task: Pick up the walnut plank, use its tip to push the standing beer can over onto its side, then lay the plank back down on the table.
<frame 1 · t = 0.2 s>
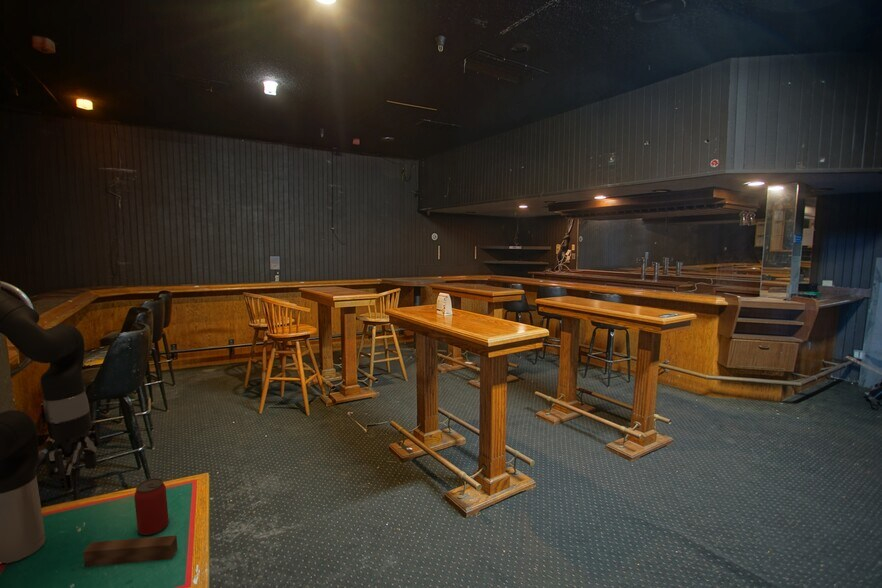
hand: (80, 478, 100), 17 cm above the table, tool pointing down, fingers open, 8 cm apart
walnut plank: (132, 558, 99), on the table
beer can: (153, 528, 109), on the table
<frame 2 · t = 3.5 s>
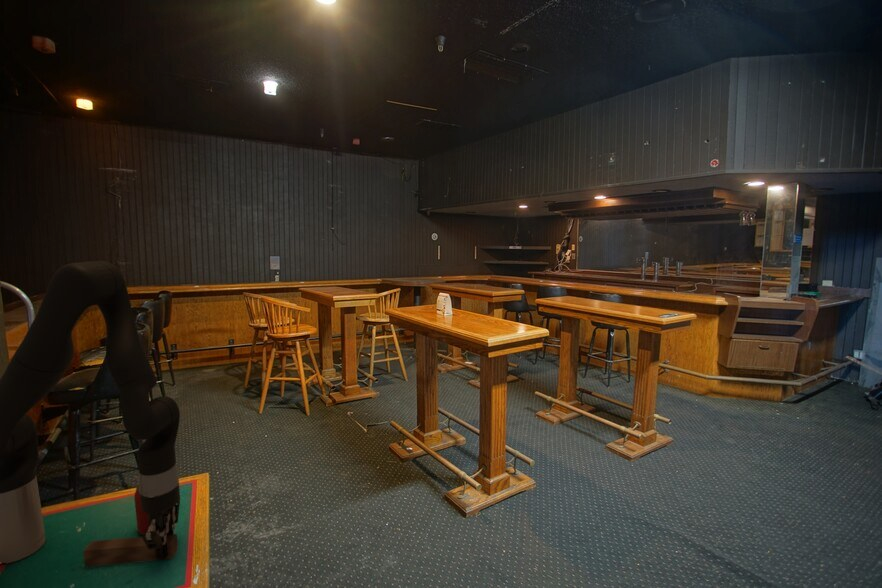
hand: (165, 551, 100), 1 cm above the table, tool pointing down, fingers closed on walnut plank, 3 cm apart
walnut plank: (132, 557, 99), on the table, touching gripper
everything else where it was.
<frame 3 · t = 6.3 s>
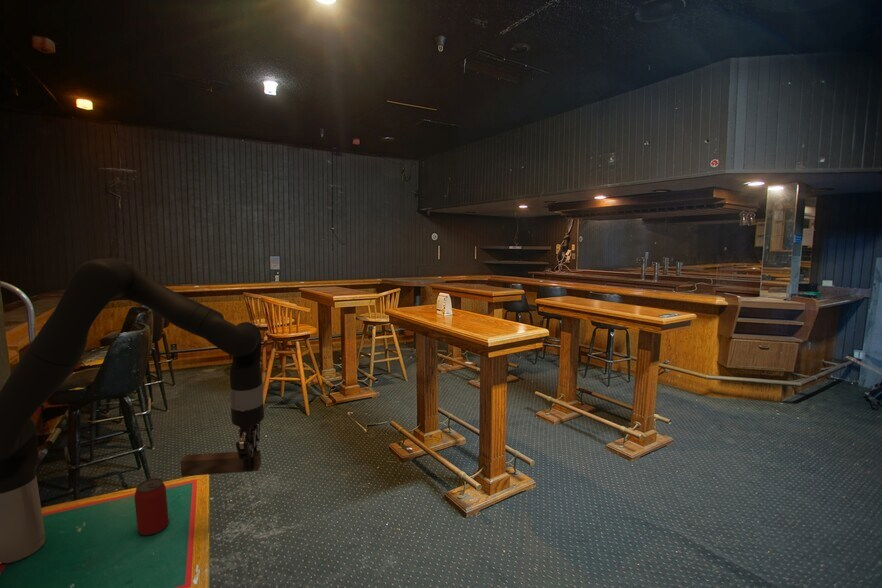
hand: (251, 465, 110), 16 cm above the table, tool pointing down, fingers closed on walnut plank, 3 cm apart
walnut plank: (222, 470, 109), point 15 cm above the table, touching gripper
everything else where it was.
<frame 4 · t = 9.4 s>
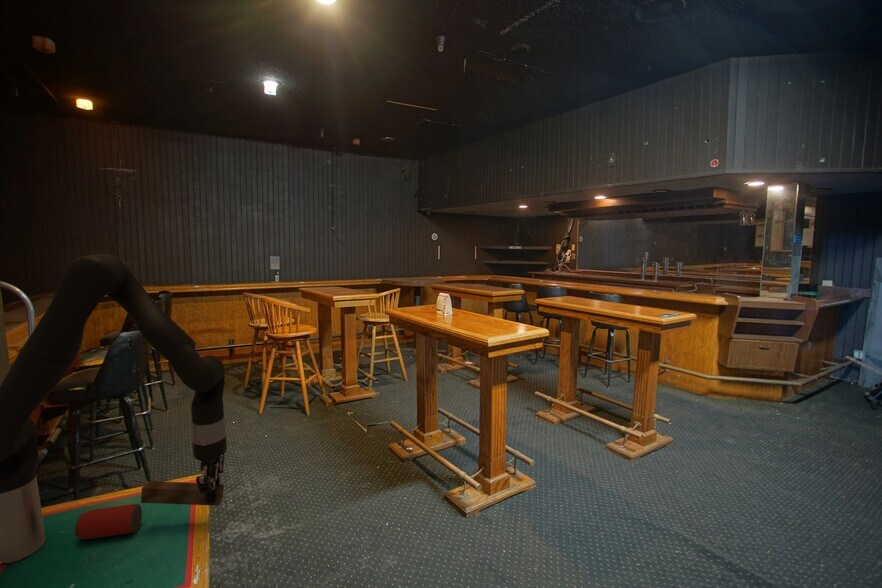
hand: (213, 497, 110), 7 cm above the table, tool pointing down, fingers closed on walnut plank, 3 cm apart
walnut plank: (183, 500, 109), point 7 cm above the table, tilted 8°, touching gripper
beer can: (138, 517, 108), point 3 cm above the table
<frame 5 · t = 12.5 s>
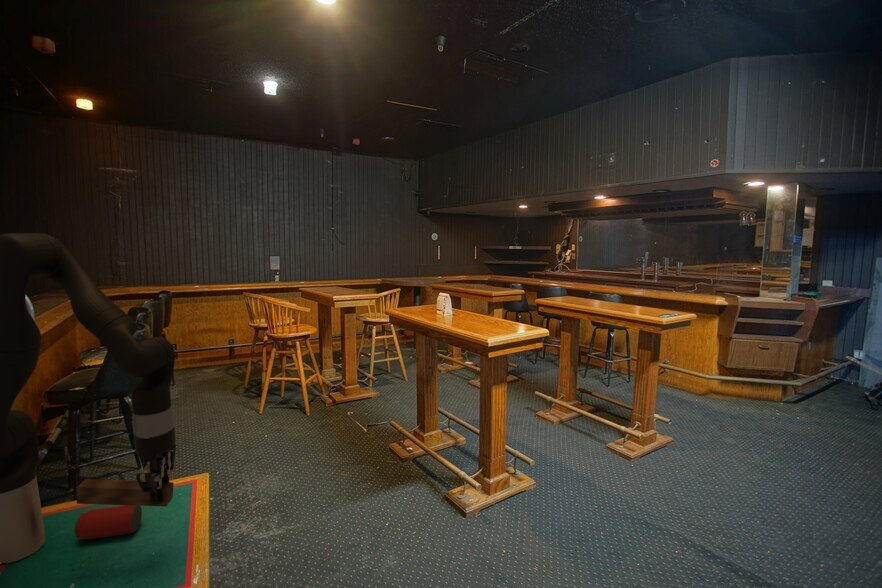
hand: (160, 497, 98), 15 cm above the table, tool pointing down, fingers closed on walnut plank, 3 cm apart
walnut plank: (126, 500, 97), point 15 cm above the table, tilted 7°, touching gripper
everything else where it was.
when the fingers open (2 cm above the table, at t = 15.0 s): walnut plank drops 2 cm, on the table.
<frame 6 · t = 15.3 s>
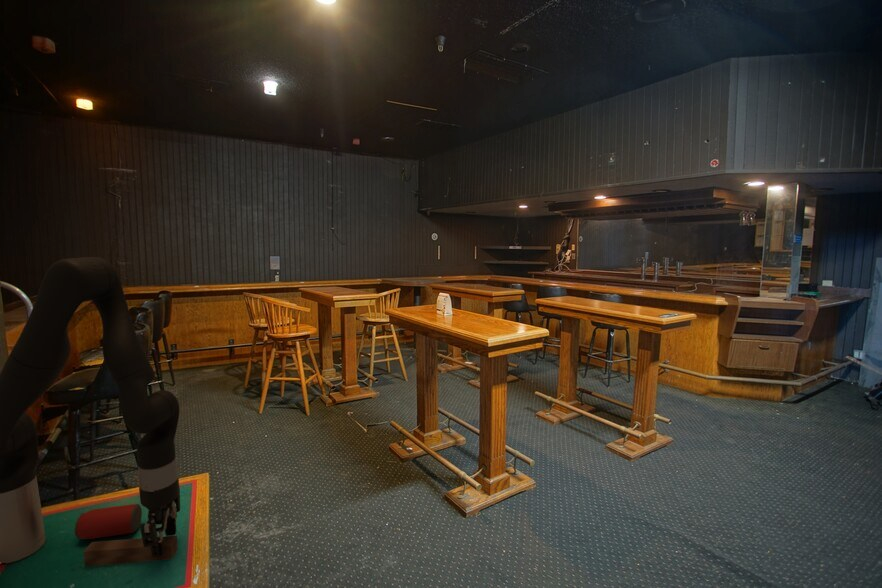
hand: (164, 544, 100), 3 cm above the table, tool pointing down, fingers open, 6 cm apart
walnut plank: (132, 558, 99), on the table
everything else where it was.
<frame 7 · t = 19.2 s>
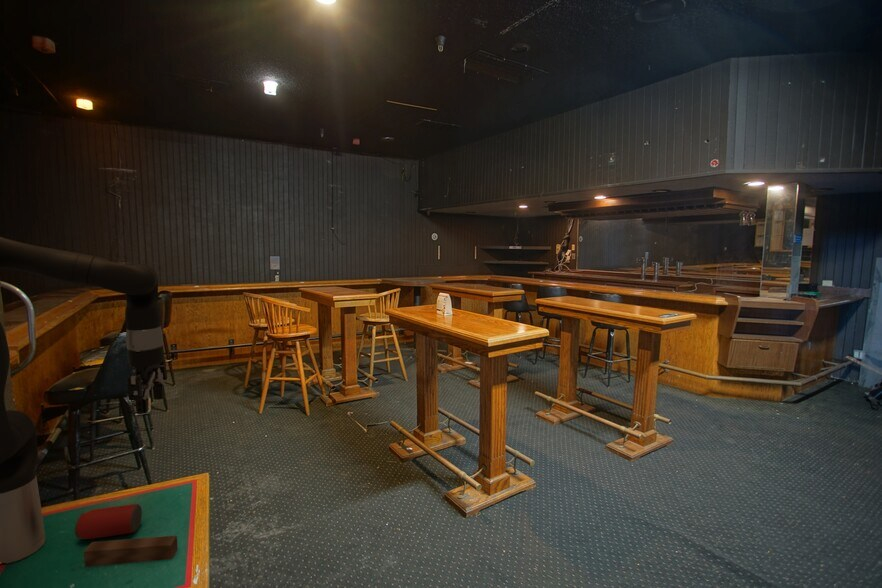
hand: (150, 406, 110), 30 cm above the table, tool pointing down, fingers open, 8 cm apart
nothing on the table moved.
at the end: beer can tilted 90°; the gripper is holding nothing; walnut plank inside the target area (0.1 cm from its centre), on the table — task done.
